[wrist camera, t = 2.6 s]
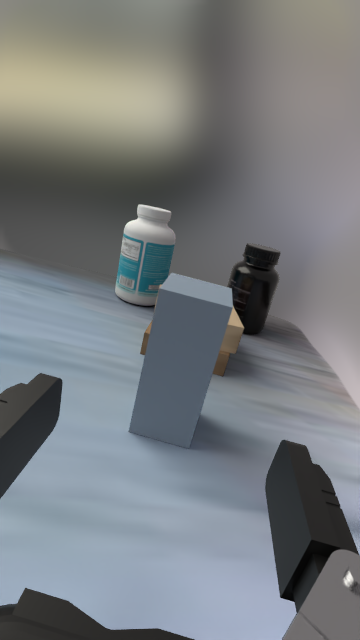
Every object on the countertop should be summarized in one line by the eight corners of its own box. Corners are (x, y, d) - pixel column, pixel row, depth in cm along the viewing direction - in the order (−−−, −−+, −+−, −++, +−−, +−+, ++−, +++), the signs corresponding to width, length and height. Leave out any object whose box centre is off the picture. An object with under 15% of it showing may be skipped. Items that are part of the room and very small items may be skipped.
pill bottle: (163, 296, 54) (182, 212, 49) (160, 311, 47) (181, 216, 42) (119, 286, 53) (133, 200, 48) (108, 300, 46) (124, 202, 41)
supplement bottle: (235, 314, 54) (258, 242, 49) (269, 332, 49) (298, 255, 45) (208, 317, 49) (230, 239, 45) (243, 338, 45) (271, 253, 40)
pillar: (128, 431, 23) (159, 288, 19) (143, 396, 27) (171, 272, 23) (189, 448, 23) (232, 307, 19) (194, 410, 27) (231, 288, 23)
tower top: (150, 336, 33) (156, 309, 32) (155, 306, 41) (159, 284, 40) (235, 353, 34) (244, 327, 32) (223, 320, 42) (229, 299, 41)
